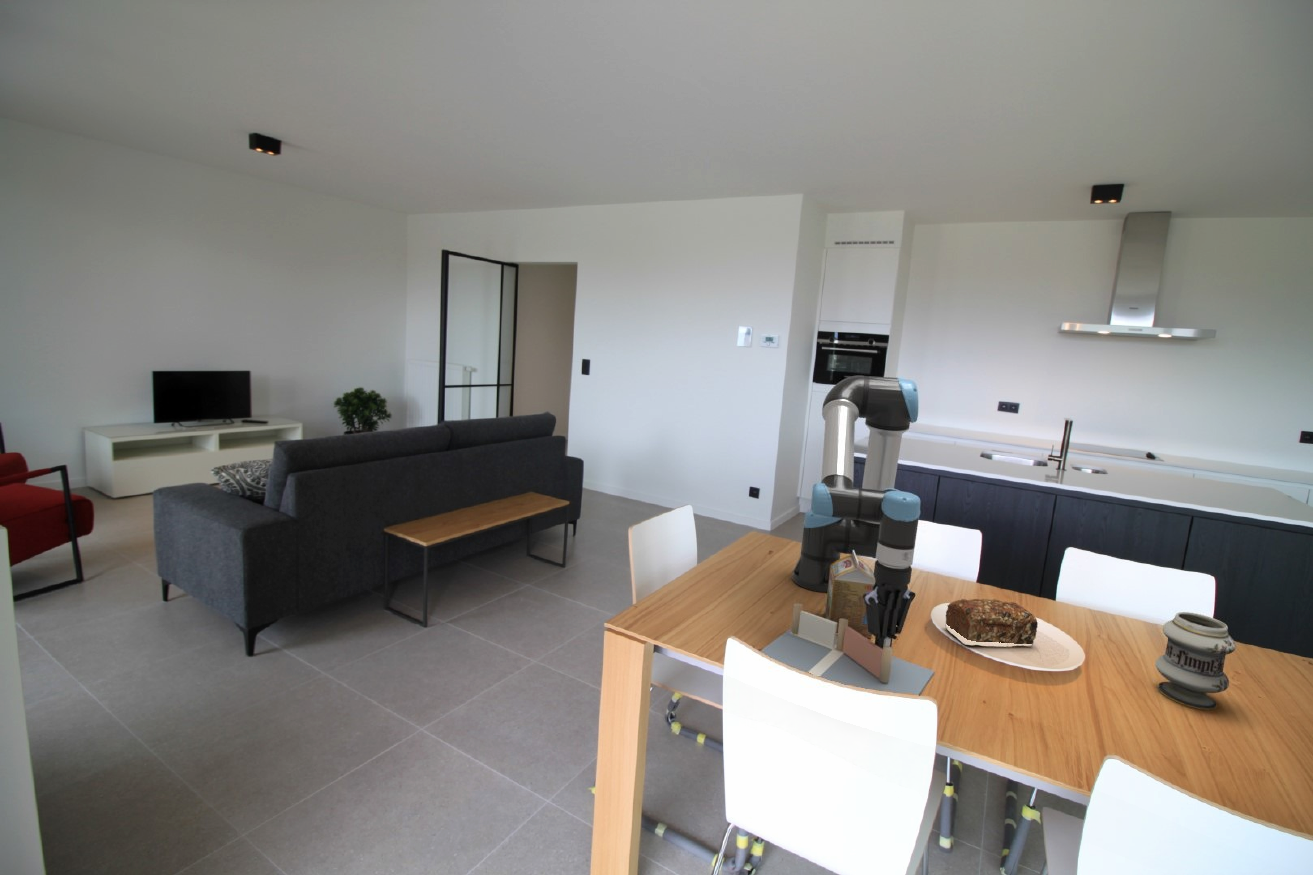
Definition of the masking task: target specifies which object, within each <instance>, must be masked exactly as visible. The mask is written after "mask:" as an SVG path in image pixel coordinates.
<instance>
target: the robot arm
mask: <svg viewBox="0 0 1313 875" xmlns="http://www.w3.org/2000/svg"><path fill="white" fill-rule="evenodd" d="M821 410H822V411H821V416H822V419H823V420H824V421H825V422H824V434H823V437H824V438H823V448H822V450H823V451H822V465H821V479H820V483H819V482H817V483H816V482H815V483H814V484H813V485H812V493H811V503H810V509H808V510H807V511H806V512H805V514H804V519H803V520H804V521H803V523H802V526H803V529H802V537H801V538H802V539H801V547H800V548H801V549H800V555H799V558H798V560H797V563H796V564H795V566H794V569H793V571H792V576H791V577H792V581H793V583H794V584H796V585H797V586H799V587H801V588H803V589H806V590H809V591H815V592H819V593H820V592H821V593H828V584H829V575H830V566H831V564H832V563H834V562H835V561H837V560H839V559H841V554H844V555H849V556H850V555H852V551H853V550H854V552H855V554H856V557H866V558H872V559H876V560H875V562H874V568H873V574H874V578H875V584H874V586H873V591H872V592H871V593H870V594H868V595H867V594H864V595H863V599H864V601H865V603H866V613H867V624H868V632H869V633H871V634H872V636H874V644H876V645H877V646H879V647H880V648H882V649H883V646H890V647H892V646H893V640H897V639H898V636H897V635H901V633H902V631H903V627H904V625H905V622H906V620H907V616H908V613H909V610H910V608H911V604H912V602H913V600H914V599H915V598H916V595H917V594H916V593H915V592H914V591H912V590H910V589H909V587H908V585H910V583H911V579H912V572H913V571H912V570H913V569H912V565H913V563H914V562H913V561H914V556H915V555H914V553H915V546H916V539H917V533H918V526H919V519H920V515H921V499H920V497H919V495H917V494H914V493H911V492H909V491H902V490H899V489H896V488H895V483H896V482H895V481H896V477H897V476H896V475H897V472H898V465H899V457H900V451H901V444H902V439H903V434H904V433H906V432H908V431H909V429H910V426H911V425H910V424H913V423H916V422H917V421H918V418H919V417H918V416H919V392H918V387H917V384H916V383H915V381H914V380H912V379H908V378H907V379H906V378H901V377H900V378H899V377H889V376H888V377H886V376H870V375H869V376H868V375H867V376H866V375H852V376H849V377H846V378H844V379H842V380H841V381H839V382H838V383H836V384H835V385H833V387H832V388H831V389H830V390H829V392H828V393H827V394H826V396H825V398H824V401H823V403H822V409H821ZM859 418H860V419H865V422H864V424H865V426H866V427H867V428H868V430H869V435H868V442H867V448H866V449H867V450H866V458H865V463H864V471H863V472H864V473H863V478H862V479H863V480H862V486H861V487H854V475H855V474H854V473H855V472H854V469H855V465H854V464H855V432H856V430H855V424H856V423H855V422H857V420H858V419H859Z"/></svg>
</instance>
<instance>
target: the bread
mask: <svg viewBox="0 0 1313 875" xmlns="http://www.w3.org/2000/svg"><path fill="white" fill-rule="evenodd" d="M946 624H947V625H948V626H950V628H951V629H954V630H955V631H956V632H957V633H959V634H960V635H961V636H963V637H964V638H966V639H967V640H971V641H976V642H999V643H1000V642H1001V643H1014V644H1032V645H1033V644H1034V641H1035V639H1036V638H1037V633H1038V630H1037V629H1038V624H1039V623H1038V621H1037V618H1036V616H1035V615H1034V614H1033V613H1031V612H1030V611H1028V610H1027V609H1026V608H1024V607H1023V606H1022V605H1020V604H1018V603H1016V602H1012V601H1011V602H1009V601H1001V600H998V599H995V598H993V599H992V598H991V599H990V598H989V599H988V598H987V599H984V598H981V599H977V598H975V599H966V598H965V599H964V598H962V599H957V600H954V601H951V602H950V603H949V604H947V609H946V611H945V625H946Z"/></svg>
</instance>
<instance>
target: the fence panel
mask: <svg viewBox="0 0 1313 875" xmlns="http://www.w3.org/2000/svg"><path fill="white" fill-rule="evenodd" d="M843 652H844V653H845V654H847V655H848V656H849V657H851V658H852V659H853V660H855V661H856V662H857V663H859V664H860V665H861V666H863V667H864V668H865V669H867V670H868V671H870V672H871V673H872V674H874V675H875V676H876V677H878V678H879V680H880V681H881V682H884V683H888V682H889V677H890V670H891V662H892V656H893V652H894V648H893V647H892V646H891V647H890V646H883V649H882V648H880V647H879V646H877V645H876V644H875V642H873V641H872V640H870V639H869V638H866V637H864V636H862V635H861V634H859V633H858V632H856V631H855V630H853V629H852V628H851V627H845V634H844V642H843Z"/></svg>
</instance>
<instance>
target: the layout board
mask: <svg viewBox="0 0 1313 875" xmlns="http://www.w3.org/2000/svg"><path fill="white" fill-rule="evenodd" d="M791 629H792V627H791V628H789V629H788V630H786V631H785V632H784V633H782V634H781V635H780V636H778V637H777V638H776V639H775V640H772V641H771V643H769V644H768V645H766V646H765V647H764V648H762V649H760V651H761V652H762V653H764V654H765V655H768V656H769V657H770V658H773V659H775V660H778V661H779V662H782V663H785V664H787V665H788V666H790V667H793V668H797V669H799V670H801V671H804V672H809V673H811V674H813V675H815V676H820V677H822V678H825V679H827V680H830V681H835V682H839V683H841V684H844V685H853V686H856V687H861V688H865V689H874V690H879V691H889V692H893V693H910V694H916V695H919V696H921V694H922V693H923V691H924V689H925V688H926V687H927V685H928V683H929V682H930V681H931V679H932V678H933V677H934V675H935V671H934V670H932V669H930V668H926V667H924V666H921V665H918V664H916V663H912V662H910V661H907V660H904V659H901V658H899V657H896V656H893V655H892V662H891V670H890V677H889V682H888V683H884V682H881V681H880V680H879V678H878V677H876V676H875V675H874V674H872V673H871V672H870V671H868V670H867V669H865V668H864V667H863V666H861V665H860V664H859V663H857V662H856V661H855V660H853V659H852V658H851V657H849V656H848V655H847V654H845V653H844V652H843V651H838V650H837V649H836V645H837V636H838V635H836V641H835V646H834V647H833V648H832V647H830V646H827V645H824V644H822V643H819V642H816V641H814V640H811V639H808V638H805V637H803V636H800V635H798V634H793V633H791Z"/></svg>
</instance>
